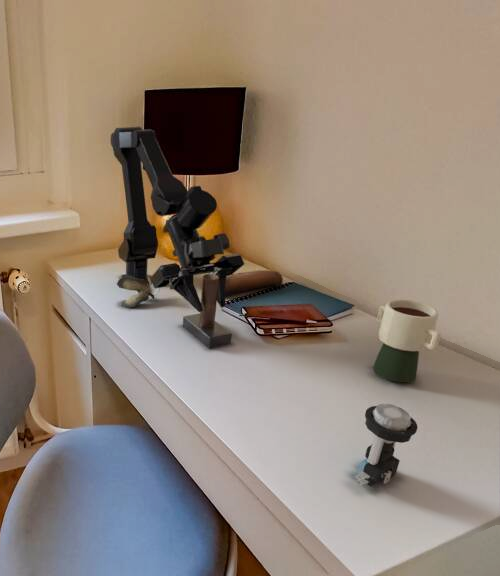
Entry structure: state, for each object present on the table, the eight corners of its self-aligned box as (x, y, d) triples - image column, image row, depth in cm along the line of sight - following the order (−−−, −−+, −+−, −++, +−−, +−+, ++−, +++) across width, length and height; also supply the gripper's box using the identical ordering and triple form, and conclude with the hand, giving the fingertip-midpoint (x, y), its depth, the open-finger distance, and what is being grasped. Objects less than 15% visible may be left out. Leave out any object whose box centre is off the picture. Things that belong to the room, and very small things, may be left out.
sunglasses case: (260, 274, 122) (271, 258, 117) (274, 295, 118) (286, 279, 113) (201, 284, 117) (211, 268, 112) (214, 306, 113) (224, 290, 108)
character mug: (439, 390, 75) (462, 319, 70) (404, 397, 74) (425, 326, 69) (383, 356, 85) (400, 292, 80) (351, 362, 83) (366, 297, 78)
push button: (375, 502, 55) (395, 437, 52) (335, 473, 60) (350, 410, 56) (408, 482, 58) (429, 418, 54) (367, 455, 63) (384, 394, 59)
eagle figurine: (142, 286, 116) (111, 287, 112) (155, 268, 111) (123, 268, 107) (153, 311, 112) (122, 313, 108) (167, 294, 107) (135, 295, 103)
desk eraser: (182, 326, 98) (186, 270, 93) (202, 322, 99) (207, 266, 94) (209, 349, 89) (214, 288, 84) (231, 344, 91) (237, 283, 86)
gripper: (160, 225, 86) (188, 302, 81) (243, 214, 91) (275, 285, 86) (140, 253, 96) (164, 322, 91) (217, 241, 101) (243, 306, 96)
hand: (212, 309), depth 91 cm, fingers open, 5 cm apart
